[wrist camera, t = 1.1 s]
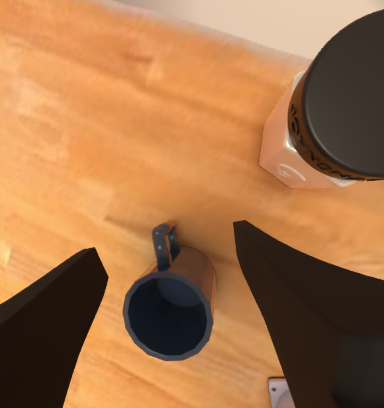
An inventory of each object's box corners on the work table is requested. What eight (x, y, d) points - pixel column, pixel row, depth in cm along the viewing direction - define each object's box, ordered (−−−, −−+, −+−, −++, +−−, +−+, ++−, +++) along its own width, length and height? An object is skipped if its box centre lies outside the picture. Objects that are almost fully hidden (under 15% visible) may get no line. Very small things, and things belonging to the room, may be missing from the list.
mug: (220, 305, 24) (219, 360, 16) (159, 309, 25) (131, 362, 17) (205, 212, 23) (196, 223, 16) (144, 221, 25) (108, 235, 17)
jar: (241, 154, 22) (261, 113, 10) (288, 91, 21) (373, -36, 9) (307, 202, 21) (410, 217, 10) (360, 140, 20) (553, 69, 8)
